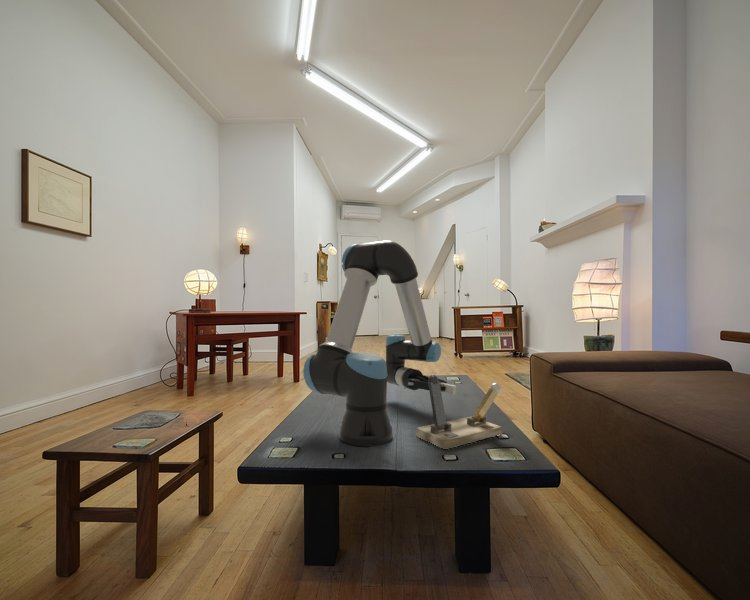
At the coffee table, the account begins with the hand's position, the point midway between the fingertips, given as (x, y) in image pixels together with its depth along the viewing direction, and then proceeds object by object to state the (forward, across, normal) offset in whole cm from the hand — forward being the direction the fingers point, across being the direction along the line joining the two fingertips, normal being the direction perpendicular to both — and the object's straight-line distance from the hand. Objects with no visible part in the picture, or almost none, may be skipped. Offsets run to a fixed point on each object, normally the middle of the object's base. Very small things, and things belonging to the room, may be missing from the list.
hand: (454, 390), depth 119 cm
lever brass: (+9, 0, -7) cm, 11 cm away
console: (+9, +7, -11) cm, 16 cm away
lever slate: (+9, +14, -7) cm, 18 cm away
